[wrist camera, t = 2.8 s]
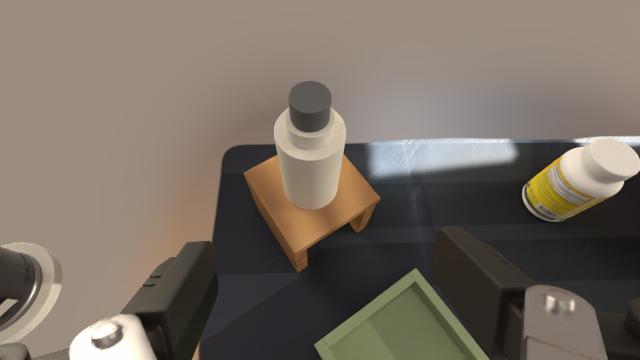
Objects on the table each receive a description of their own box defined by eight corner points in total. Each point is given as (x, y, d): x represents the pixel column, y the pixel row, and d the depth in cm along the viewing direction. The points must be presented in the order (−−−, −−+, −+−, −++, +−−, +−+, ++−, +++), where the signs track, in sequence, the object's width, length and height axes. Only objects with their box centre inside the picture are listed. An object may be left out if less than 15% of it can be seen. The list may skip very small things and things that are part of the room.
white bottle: (302, 220, 29) (296, 144, 18) (273, 178, 31) (252, 87, 20) (348, 192, 30) (368, 105, 19) (318, 154, 33) (321, 56, 22)
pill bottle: (560, 182, 42) (635, 133, 32) (574, 225, 39) (662, 185, 29) (514, 178, 42) (575, 129, 32) (525, 221, 39) (596, 180, 29)
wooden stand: (298, 274, 35) (294, 253, 27) (257, 207, 39) (243, 172, 31) (366, 228, 38) (380, 198, 30) (321, 170, 42) (323, 130, 34)
